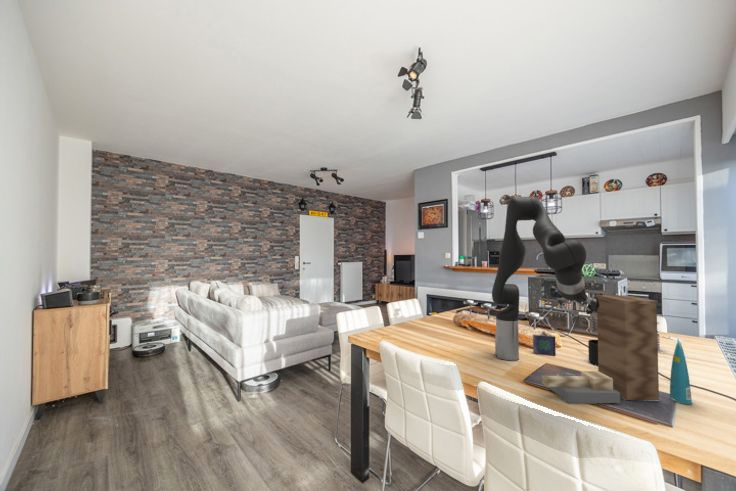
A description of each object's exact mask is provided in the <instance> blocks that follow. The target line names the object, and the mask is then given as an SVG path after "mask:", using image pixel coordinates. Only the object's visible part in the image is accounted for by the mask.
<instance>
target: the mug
mask: <svg viewBox="0 0 736 491" xmlns="http://www.w3.org/2000/svg"><path fill="white" fill-rule="evenodd" d="M587 341H588V342H587V344H588V345H587V347H588V348H587V349H588V351H587V352H588V362H589V363H590V364H592V365H594V366H597V367H598V339H589V340H587Z"/></svg>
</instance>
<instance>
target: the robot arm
mask: <svg viewBox="0 0 736 491" xmlns="http://www.w3.org/2000/svg"><path fill="white" fill-rule="evenodd" d="M505 216H506V217H505V225H504V226H505V227H504V234H503V240H502V244H501V248H500V254H499V260H498V267H497V272H496V275H495V279H494V282H493V284H492V285H493V286H492V291H491V299H492V301H493V303H494V304H498V305H507V306H506V307H505V308H504V309H500V310H499V311H496V313H495V329H496V330H495V333H494V346H495V348H494V349H495V350H494V352H495V353H494V354H495V357H497V359H501V360H505V361H518V360H519V359H520V352H519V350H520V347H519V346H520V345H519V340H520V339H519V314H520V290H519V289H520V288H519V287H518V285H517V284H515V283H507V281H508V280H509V278H511V277H512V276H513V275H514V274H515V273H516V272H517V271H518V270H520V268H521V267H522V266H523V264H524V259H525V255H526V253H527V252H526V250H527V249H526V246H525V243H524V241H523V240H522V238H521V237H520V235H519V232H518V228H517V225H518V222H519V221H521V222H522V221H534V224H533V228H532V234H533V237H534V239H535V240H536V241H537V243H538V244H539V245H540V246H541V249H542V253H543V260H544V263H545V264H546V266H547V267H548V268H550V269H552V270H554V271H553V272H554V275H555V281H556V284H555V283H552V284H551V287H550V288H549V293H550V297H551V298H555V299H556V300H557V302H558V303H559V305H561V306H564V303H565V302H566V301H567V300H568V301H571V302H573V303H576V304H577V305H578V306H580V307H581V308H584V309H585V311H586V312H585V313H586V315H592V314H593V313H594V312H595V313H597V310H598V308H599V306H600V305H599V301H598V298H597V297H595V296H593V297H589V296H588V295H587V294H586V293H587V292H586V286H585V285H586V283H585V280H584V277H583V274H582V273H583V272H582V269H583V267H584V265H585V262H586V259H587V250H586V248H585V246H584V245H583V243H582V242H581V241H579V240H576V239H569V240H566V236H565V235H564V234H563V233H562V232H561V231H560V230H559V228H558V227H557V226H556V225H555V224H554V222H552V220H551V218H550V217H549V214H548V213H547V209H546V208H545V206H544V205H543V202H542V201H541V199H539V198H538V197H536V196H533V195H532V196H513V197H511V198H510V199H509V200H508V204H507V208H506V215H505ZM565 300H566V301H565Z"/></svg>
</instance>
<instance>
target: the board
mask: <svg viewBox="0 0 736 491" xmlns="http://www.w3.org/2000/svg"><path fill="white" fill-rule="evenodd" d="M549 390H551V392H553V393H554V394H555V395H557V396H558V397H560V398H561V399H562V400H563V401H564V402H566V403H567V404H580V405H581V404H585V405H586V404H587V405H590V404H592V405H593V404H594V405H597V403H618V404H617V405H620V404H621V397H620V393H619V392H618V391H616V390H614V389H613V390H594V389H592V388H590V387H549ZM619 403H620V404H619Z"/></svg>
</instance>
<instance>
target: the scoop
mask: <svg viewBox="0 0 736 491" xmlns="http://www.w3.org/2000/svg"><path fill="white" fill-rule="evenodd" d="M541 381H542V382H541V384H542V385H544V386H546V388H547V387H548V388H550V387H590V388H592V389H594V390H613V379H612V378H610V377H608V376H606V375H605V374H603V373H601V372H599V371H598V370H593V371H592V370H590V371H589V370H588V371H587V370H582V371H580V375H572V376H571V375H541Z"/></svg>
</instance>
